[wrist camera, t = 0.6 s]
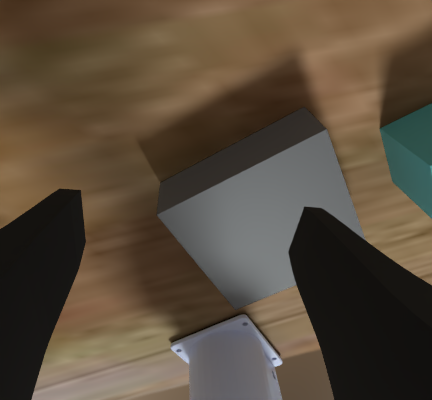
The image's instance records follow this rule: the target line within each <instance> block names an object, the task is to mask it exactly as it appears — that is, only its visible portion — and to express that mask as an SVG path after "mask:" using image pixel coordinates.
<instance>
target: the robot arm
mask: <svg viewBox="0 0 432 400" xmlns="http://www.w3.org/2000/svg"><path fill="white" fill-rule="evenodd" d="M85 243H86V239H85V229H84V219H83V209H82V198H81V190H70V189H58V190H57V191H55V192H54V193H52V194H51V195H49V196H48V197H47V198H45V199H44V200H42V201H41V202H40V203H38V204H37V205H35V206H34V207H32V208H31V209H30V210H28V211H27V212H25V213H24V214H22V215H21V216H19V217H18V218H17V219H15V220H14V221H12V222H11V223H9V224H8V225H6V226H5V227H3V228H1V229H0V400H31V399H32V395H33V392H34V388H35V385H36V381H37V378H38V375H39V371H40V368H41V365H42V361H43V358H44V355H45V352H46V349H47V346H48V343H49V341H50V338H51V335H52V333H53V330H54V328H55V325H56V323H57V321H58V318H59V316H60V313H61V311H62V309H63V306H64V304H65V301H66V299H67V297H68V294H69V292H70V289H71V287H72V284H73V282H74V280H75V277H76V275H77V272H78V269H79V266H80V262H81V258H82V255H83V251H84V247H85ZM288 253H289V258H290V263H291V267H292V271H293V275H294V279H295V282H296V284H297V287H298V290H299V292H300V295H301V298H302V300H303V303H304V305H305V308H306V311H307V313H308V316H309V318H310V321H311V323H312V326H313V329H314V331H315V334H316V336H317V339H318V342H319V345H320V348H321V351H322V354H323V358H324V362H325V365H326V368H327V373H328V376H329V380H330V384H331V388H332V391H333V396H334V400H432V285H430V284H428V283H427V282H425V281H424V280H422V279H420V278H419V277H417V276H415V275H414V274H412V273H411V272H409V271H408V270H406V269H405V268H403V267H402V266H400V265H399V264H397V263H396V262H394V261H393V260H392V259H390V258H389V257H387V256H386V255H384V254H383V253H382V252H380V251H379V250H377V249H376V248H375V247H373V246H372V245H371V244H369V243H368V242H367V241H365V240H364V239H363V238H362V237H360V236H359V235H358V234H356V233H355V232H354V231H352V230H351V229H350V228H349V227H347V226H346V225H345V224H343V223H342V222H341V221H339V220H338V219H337V218H335V217H334V216H333V215H331V214H330V213H329V212H327V211H326V210H324V209H322V208H317V207H304V209H303V212H302V214H301V217H300V220H299V223H298V226H297V228H296V231H295V234H294V237H293V240H292V242H291V245H290V248H289V251H288ZM171 350H173V351H174V352H175V353H176V354H177V355H178V356H180V357H181V358H182V359H183V360H184V361H185V362H187V363H188V364H189V382H190V400H282V397H281V393H280V388H279V384H278V380H277V376H276V372H275V368H274V367H276V366H279V365H281V364H282V359H281V357H280V356H279V355H278V354H277V352H276V351H275V350H274V349H273V347H272V346H271V345H270V344H269V342H268V341H267V340H266V339H265V337H264V336H263V335H262V334H261V333H260V331H259V330H258V329H257V328H256V326H255V325H254V324H253V323H252V321H251V320H250V319H249V318H248V316H246V315H244V314H242V315H239V316H236V317H234V318H231V319H229V320H226V321H224V322H222V323H219V324H217V325H214V326H212V327H209V328H207V329H204V330H202V331H199V332H197V333H195V334H192V335H190V336H187V337H185V338H182V339H180V340H177V341H175V342H173V343H171Z"/></svg>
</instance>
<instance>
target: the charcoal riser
mask: <svg viewBox="0 0 432 400" xmlns="http://www.w3.org/2000/svg"><path fill="white" fill-rule="evenodd" d="M304 207H317V208H322V209H324V210H326V211H327V212H329V213H330V214H331V215H333V216H334V217H335V218H337V219H338V220H339V221H341V222H342V223H343V224H345V225H346V226H347V227H349V228H350V229H351V230H352V231H354V232H355V233H356V234H358V235H359V236H360V237H362V238H363V239H364V240H365V237H364V234H363V232H362V229H361V226H360V223H359V220H358V217H357V214H356V212H355V209H354V206H353V203H352V200H351V197H350V194H349V192H348V189H347V186H346V183H345V180H344V177H343V174H342V171H341V169H340V166H339V163H338V160H337V157H336V154H335V151H334V149H333V146H332V143H331V140H330V137H329V134H328V131H327V129H326V128H325V127H324V126H323V125H322V124H321V123H320V122H319V121H318V120H317V119H316V118H315V117H314V116H313V115H312V114H311V113H310V112H309V111H308V110H307V109H306V108H305V107H303V108H301V109H299V110H297V111H295V112H293V113H292V114H290V115H288V116H286V117H284V118H282V119H280V120H278V121H276V122H274V123H273V124H271V125H269V126H267V127H265V128H263V129H261V130H259V131H257V132H256V133H254V134H252V135H250V136H248V137H246V138H244V139H242V140H240V141H238V142H237V143H235V144H233V145H231V146H229V147H227V148H225V149H223V150H221V151H220V152H218V153H216V154H214V155H212V156H210V157H208V158H206V159H204V160H202V161H201V162H199V163H197V164H195V165H193V166H191V167H189V168H187V169H185V170H184V171H182V172H180V173H178V174H176V175H174V176H172V177H170V178H168V179H166V180H165V181H163V182H161V183H160V188H159V198H158V207H157V216H158V217H159V219H160V220H161V221H162V222H163V223H164V225H165V226H166V227H167V228H168V229H169V231H170V232H171V233H172V234H173V235H174V237H175V238H176V239H177V240H178V241H179V243H180V244H181V245H182V246H183V247H184V249H185V250H186V251H187V252H188V253H189V255H190V256H191V257H192V258H193V260H194V261H195V262H196V263H197V264H198V266H199V267H200V268H201V269H202V270H203V272H204V273H205V274H206V275H207V276H208V278H209V279H210V280H211V281H212V282H213V284H214V285H215V286H216V287H217V288H218V290H219V291H220V292H221V293H222V294H223V296H224V297H225V298H226V299H227V301H228V302H229V303H230V304H231V305H232V307H233V308H234V309H235V310H236V309H239V308H241V307H244V306H246V305H249V304H251V303H253V302H256V301H258V300H261V299H263V298H265V297H268V296H270V295H273V294H275V293H278V292H280V291H282V290H285V289H287V288H290V287H292V286H295V285H297V284H296V282H295V279H294V275H293V271H292V267H291V263H290V258H289V253H288V251H289V248H290V245H291V242H292V240H293V237H294V234H295V231H296V228H297V226H298V223H299V220H300V217H301V214H302V212H303V209H304ZM365 241H366V240H365Z"/></svg>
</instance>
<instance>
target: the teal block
mask: <svg viewBox="0 0 432 400" xmlns="http://www.w3.org/2000/svg"><path fill="white" fill-rule="evenodd" d="M380 132H381V136H382V140H383V144H384V149H385V153H386V157H387V161H388V165H389V169H390V173H391V177H392V181H393V183H394V184H395V185H397V186H398V187H399V188H400V189H401V190H402V191H403V192H404V193H405V194H406V195H407V196H408V197H409V198H410V199H411V200H412V201H414V202H415V203H416V204H417V205H418V206H419V207H420V208H421V209H422V210H423V211H424V212H425V213H426V214H427V215H428V216H429V217H431V218H432V103H431V104H429V105H427V106H425V107H423V108H421V109H419V110H417V111H415V112H413V113H411V114H409V115H406V116H404V117H402V118H400V119H398V120H396V121H394V122H392V123H390V124H388V125H386V126H384V127H382V128H380Z"/></svg>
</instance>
